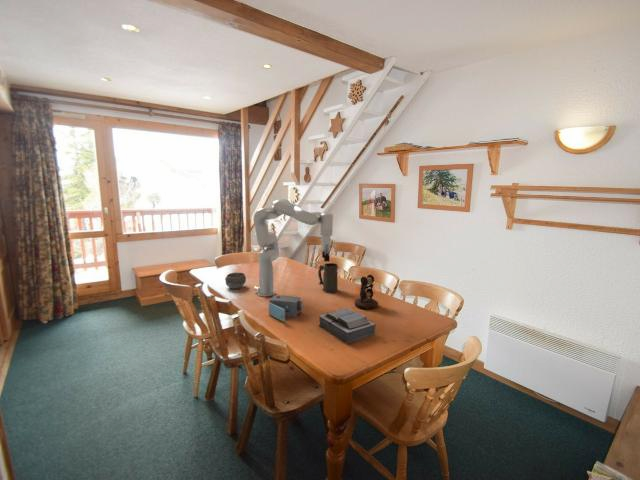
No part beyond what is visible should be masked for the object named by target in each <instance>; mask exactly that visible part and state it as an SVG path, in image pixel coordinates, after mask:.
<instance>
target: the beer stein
mask: <svg viewBox="0 0 640 480" xmlns="http://www.w3.org/2000/svg"><path fill="white" fill-rule="evenodd" d="M338 268H339V266H338V264H337V263H332V262H328V263H325V264H324V266H323V265H322V264H321V265H319V269H318V273H317V275H318V276H317V277H318V279H319V283H318V284H319V285H320V286H321V285H322V287H323V288H322V291H323V292H324V293H328V294H334V293H338V282H339V281H338V273H339V272H338ZM322 270H323V274H322ZM322 275H323V276H322Z"/></svg>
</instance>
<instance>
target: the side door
mask: <svg viewBox="0 0 640 480" xmlns="http://www.w3.org/2000/svg"><path fill="white" fill-rule="evenodd" d="M268 315H269V316H271V317H273V318H276V319H278V320H279V321H281V322H286V316H285V309H283V308H281V307H278V306H276V305H274V304H272V303H270V302H268Z"/></svg>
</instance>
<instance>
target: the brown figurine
mask: <svg viewBox="0 0 640 480" xmlns="http://www.w3.org/2000/svg"><path fill="white" fill-rule="evenodd" d="M374 282H375V277H374V276H373V275H372V274H369V275H367V276H361V278H360V284H361V285H360V290H359V297H358V298H356V299H354V306H357V307H359V308H364V309H366V310H369V309H372V308H376V307H377V306H378V305H379V302H378V301H377V300H375V299H374V298H373V296H374V291H373V288H374Z"/></svg>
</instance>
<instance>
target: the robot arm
mask: <svg viewBox="0 0 640 480" xmlns="http://www.w3.org/2000/svg"><path fill="white" fill-rule="evenodd" d="M282 215H284V216H287V217H290V218H292V219H295V220H296V221H298V222H300V223H303V224H306V225H308V226H309V225H310V226H315V225H319V224H320V231H319V232H320V233H319V234H320V236H321V240H320V250H321V251H322V252H321V253H322V254H321V256H322V258H323V261H324V262H330V252H331V243H332V242H331V236H333V225H334V224H333V222H334V215H333V213H331V212H320V211H314V212H309V211H307V210H304V209H301V207H300V206H299V205H298V204H295V203H292V202H290V200H288V199H286V198H285V199H283V198H282V199H281V198H280V199H276V200H275V201H274V202H273V204H272V206H266V207H261V208H259V209H257V210H256V211H255V213H254V214H253V223H254V228H255V235H256V236H255V237H256V239H257V240H256V242H257V245H258V246H259V247H260V248H264V249H262V250H260V251H259V252H258V254H257V261H258V269H259V271H258V272H259V276H258V277H259V286H254V287H253V290H254V291H257V293H256V294H257V295H258V296H259V297H271V296H272V297H273V296H274V295H277V293H276V291H275V290H274V266H273V261H275V260H277V259H278V258H279V255H280V250H279V243H278V238H277V236H276V234H275V233H274V232H273V231H270V230H269V227H268V226H269V225H268V223H267V221H268V220H274V219H277V218H278V217H281V216H282Z"/></svg>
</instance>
